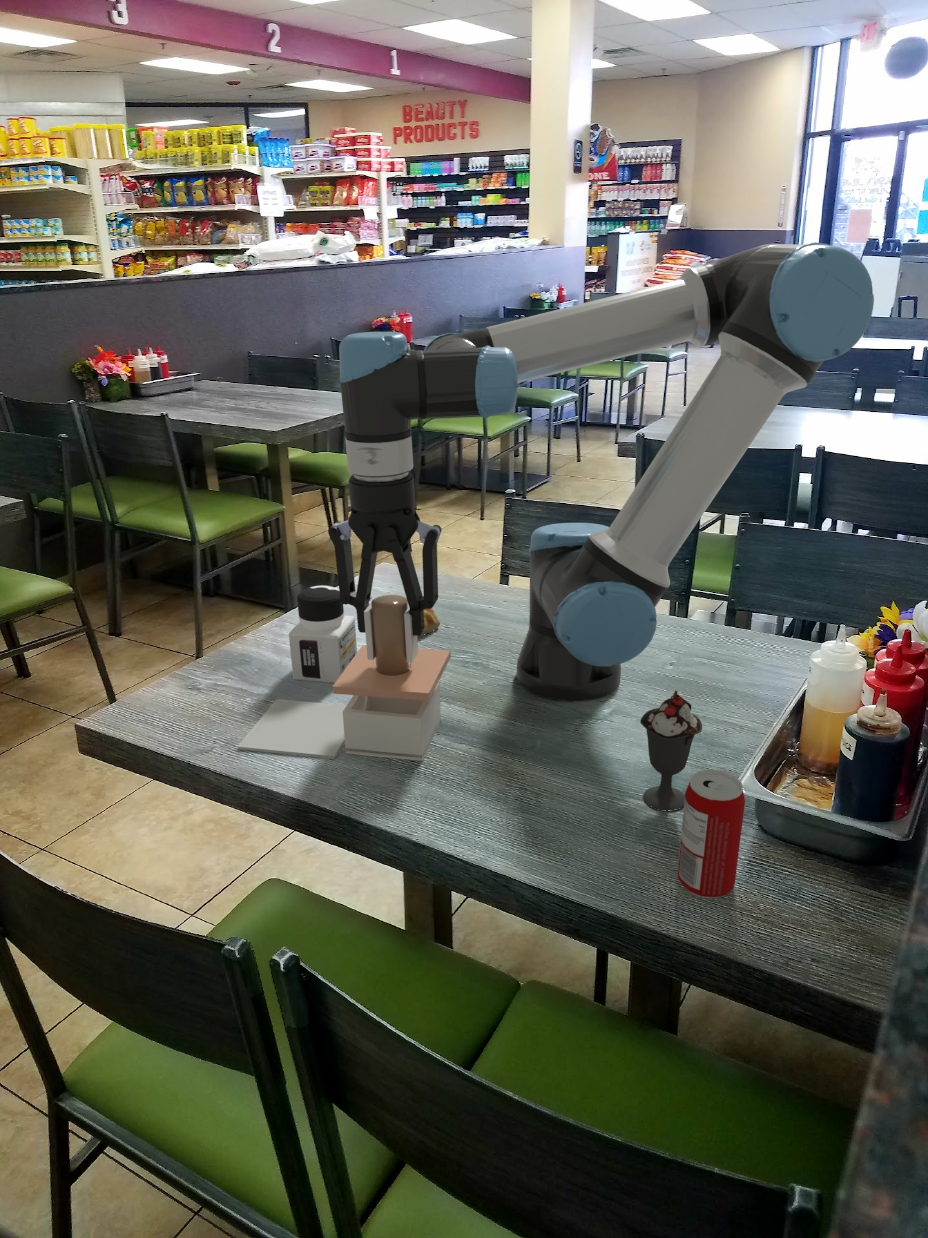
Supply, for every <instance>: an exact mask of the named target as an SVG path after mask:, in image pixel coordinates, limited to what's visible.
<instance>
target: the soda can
mask: <svg viewBox="0 0 928 1238" xmlns="http://www.w3.org/2000/svg"><path fill="white" fill-rule="evenodd" d="M684 795H685V800H684V807H683V811H682V813H683V814H682V823H681V833H680V843H679V854H678V866H677V880H678V881H679V883H680V885H682V887H684V889H686V891H688V893H689V894H691V895H694V896H695V895H696V897H698V898H700V897H701V898H702V899H710V900H712V898H713V899H718V898H722V897H725V896H727V895H728V894H730V893H731V892H732V891H733V890H734V889H735V886H736V885H735V884H736V878H737V877H736V876H737V869H738V861H739V855H740V854H739V853H740V846H741V845H740V844H741V835H742V829H743V821H744V814H745V813H744V812H745V803H746V798H745V794H744V786H743V782H742V781H741V780H739V778H738V777H737V776H736V775H733V774H731V773H729V772H726V771H724V770H719V769H703V770H699V771H697V772H694V773H693V774H692V775H691V776H690V779H689V783H688V785H687V787H686V789H685V792H684Z"/></svg>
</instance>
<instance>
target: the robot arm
mask: <svg viewBox="0 0 928 1238" xmlns="http://www.w3.org/2000/svg"><path fill="white" fill-rule="evenodd" d="M873 290H874V289H873V281H872V278H871V275H870V273H869V271H868V269H867V267H866V266H865V264H864V263H863V262H862V261H861V260H860V258H859V257H857V256H856V255H855V254H854V253H852V252H851V251H849V250H847V249H845V248H843V247H840V246H839V247H838V246H835V245H832V244H828V243H824V242H810V243H806V244H792V243H790V244H789V243H767V244H763V245H759V246H756V247H755V246H754V247H752V248H749V249H746V250H743V251H741V252H737V253H734V254H732V255H728V256H726V257H722V258H719V259H716V260H714V261H713V260H712V261H709V262H706V263H704V264H701V265H697V266H692V267H689V268H686V269H685V270H683V272H682V273H681V276H679V278H678V279H675V280H672V281H668V282H665V283H660V284H656V285H655V284H654V285H652V286H648V287H643V288H639V289H636V290H632V291H628V292H623V293H619V294H616V295H612V296H607V297H603V298H600V299H594V300H591V301H587V302H583V303H580V304H575V305H571V306H567V307H563V308H559V309H555V310H552V311H547V312H543V313H539V314H536V315H531V316H528V317H527V316H526V317H521V318H518V319H516V320H510V321H506V322H502V323H499V324H495V325H494V324H493V325H490V326H486V327H484V328H479V329H474V330H470V331H466V332H462V333H452V332H449V333H448V332H447V333H444V334H440V335H438V336H436V337H434V338H433V339H431V340H430V341H429V342H428V343H427V345H426V346H425V347H424V350H421V349H419V350H416V349H410V347H409V345H408V341H407V340H408V339H407V337H406V336H405V334H403V333H402V332H399V331H398V332H397V331H369V332H368V331H366V332H365V331H364V332H358V333H357V332H356V333H351V334H348V335H346V336H344V337H343V338H342V340H341V341H340V343H339V346H338V347H339V348H338V350H339V351H338V353H339V354H338V355H339V356H338V357H339V381H340V383H339V385H340V394H341V403H342V404H341V405H342V414H343V424H344V436H345V437H344V440H345V451H346V460H347V461H346V462H347V463H346V464H347V471H348V472H349V473H350V474H351V475H350V477H349V479H348V489H349V501H350V509H351V511H350V514H349V517H348V519H347V520H345V521H336V522H334V524H333V525H332V526H330V527H329V528H328V531H327V533H328V536H329V538H330V540H331V542H332V544H333V547H334V554H335V564H336V571H337V583H338V584H337V585H338V589H339V593H340V601H341V603H343V605H350V606H352V607H354V609H355V610H356V620H357V630H358V631H359V633H364V634H365V645H367V658H368V660H374V658H375V645H374V632H373V618H372V605H371V602H370V601H372V598H373V597H372V589H373V583H374V575H375V569H376V563H377V558H378V553H380V552H386V553H391V554H392V557H393V560H394V562H396V567H397V569H398V573H399V577H400V580H401V584H402V587H403V590H404V594H405V598H406V599H407V602H408V609H407V610H406V611H405V613H404V622H405V639H406V656H407V662H412V663H413V661H414V660H415V658H416V656H417V654H418V649H419V644H418V642H419V641H418V638H417V636H421V634H422V632H423V630H424V609H431V608H432V609H433V607H434V606H435V604H436V603H437V601H438V600H439V573H438V572H439V571H438V568H439V567H438V542H439V539H440V536H441V533H442V531H443V530H442V529H443V528H442V526H440V525H439V524H434V525H431V524H427V523H425V522H423V521H421V518H420V516H419V514H418V512H417V510H416V495H415V493H416V492H415V478H414V474H412V472H411V470H413V468H414V456H413V455H414V454H413V440H412V438H413V437H412V420H413V421H414V420H421V421H422V420H430V419H432V420H433V419H458V418H460V419H461V418H463V419H465V418H483V419H487V418H489V417H493V416H496V417H497V416H503V415H504V416H505V415H509V414H511V413H512V412H513V411H514V409H515V407H516V405H517V400H518V384H519V383H520V384H521V383H524V382H528V381H533V380H536V379H540V378H545V377H547V376H548V377H549V376H552V375H557V374H561V373H564V372H569V371H573V370H577V369H581V368H585V367H588V366H593V365H596V364H601V363H605V362H610V361H614V360H617V359H621V358H626V357H629V356H634V355H637V354H641V353H647V352H649V351H654V350H658V349H662V348H666V347H667V348H668V347H670V346H674V345H679V344H682V343H686V342H689V343H691V344H692V345H694V346H696V347H699V348H701V347H705V346H708V345H713V344H719V347H720V356H719V358H718V359H717V360H716V362H715V364H714V365H713V367H712V369H710V372H709V373H708V374H707V376H706V378H705V379H704V381H703V382H702V383H701V386H700V387H699V388H698V391H696V393H695V394H694V396H693V398H692V399H691V401H690V402H689V404H688V405H687V407H686V409H685V410H684V412H683V413H682V415H681V416H680V418H679V419H678V420H677V423H676V424H675V426H674V427H673V429H671V432H670V433H669V434H668V437H666V439H665V441H664V443H663V444H662V446H661V448H660V449H659V450H658V452H657V453H656V455H655V457H654V458H653V460H652V461H651V462H650V464H649V466H648V467H647V469H646V470H645V472H644V474H643V475H642V477H641V478H640V480H639V481H638V483H637V484H636V486H635V487H634V489H633V491H632V492H631V494H630V495H629V497H628V498H627V500H626V501H625V503H624V505H623V506H622V508H621V509H620V510H619V512H618V514H617V515H616V516H615V519H614V520H613V521H612V523H611V524H610V526H608V525H605V524H599V523H589V522H562V523H552V524H546V525H543V526H540V527H538V528H536V529H535V530H534V531H533V532H532V533H531V536H530V546H529V548H528V553H529V618H528V619H529V621H528V622H529V626H528V630H527V633H526V636H525V639H524V640H523V644H522V646H521V649H520V651H519V652H520V653H519V655H518V657H517V660H516V661H517V662H516V679H517V682H518V683H519V684H520V686H521V687H522V688H524V689H525V690H526V691H528V692H530V693H532V694H534V695H535V696H536V695H537V696H539V697H541V698H546V699H549V700H550V699H551V700H557V701H564V702H565V701H567V702H568V701H570V702H572V701H573V702H577V701H578V702H579V701H580V702H581V701H588V700H594V699H597V698H601V697H604V696H606V695H608V694H610V693H612V692H614V691H615V690H616V689H617V688H618V687H619V686H620V683H621V674H622V673H621V672H622V665H621V664H625V663H626V662H627V663H628V662H629V661H631V660H633V659H635V658H636V657H637V656H639V655H640V654H641V653H643V652H644V650H646V649H647V647H648V646H649V645H650V643H651V642H652V640H653V638H654V636H655V633H656V630H657V622H658V621H657V618H658V617H657V611H656V610H657V609H656V607H657V605H658V604H659V602H660V601H661V599H662V597H663V596H664V595H665V593H666V592H667V590H668V589H669V587H670V585H671V581H670V573H669V570H668V569H669V566H670V564H671V562H672V561H673V560H674V557H675V556H676V555H677V553H678V552H679V551H680V549H681V547H682V546H683V544H684V543H685V541H686V539H688V537H689V535H690V533H691V532H692V531H693V530H694V528H695V527H696V525H697V524H698V522H699V521H700V520H701V518H702V516H703V515H704V513H705V512H706V510H707V509H708V507H709V506H710V505H711V503H712V501H713V500H714V499H715V497H716V495H717V494H718V493H719V491H720V490H721V489H722V486H723V485H724V484H725V482H726V481H727V480H728V478H729V477H730V475H731V474H732V472H733V471H734V469H735V468H736V466H737V465H738V463H739V462H740V460H741V459H742V458H743V456H744V455H745V453H746V451H747V450H748V448H749V447H750V445H751V444H752V442H754V440H755V439H756V437H757V435H758V434H759V433H760V431H761V429H762V428H763V426H764V425H765V424H766V422H767V420H768V419H769V418H770V416H771V415H772V413H773V412H774V411H775V409H776V407H777V406H778V404H779V403H780V402H781V400H782V399H783V397H784V396H785V395H786V394H787V393H790V392H793V391H797V390H800V389H801V390H802V389H804V388H807V386H808V384H809V383H810V381H811V380H812V378H813V377H814V376H815V374H816V373H817V371H818V370H819V368H820V367H821V366H822V364H823V363H824V362H825V361H830V360H833V359H835V358H837V357H840V356H843V355H844V354H845V353H847V352H849V351H850V350H851V349H852V348H853V347H854V346H856V344H857V343H858V342H859V341H860V340H861V338H863V336H864V334H865V332H866V330H867V328H868V326H869V324H870V322H871V319H872V315H873V311H874V303H875V295H874V293H873ZM352 532H353V533H354V535H355V536H356V537H357V538H358V539H359V541H360V542H361V543H362V548H361V553H360V559H361V561H360V566H359V567H360V568H359V574H358V581H357V586H356V582H355V573H354V571H355V570H354V562H353V553H352V552H353V551H352V544H351V537H352ZM416 532H417V534H418V535H419V542H421V543H422V544H423V546H422V549H421V550H422V551H421V553H422V584H423V585H422V586H423V587H422V589H423V592H422V589H421V585H420V581H419V578H418V574H417V571H416V568H415V567H416V566H415V564H414V560H413V556H412V548H411V543H410V540H411V539H412V537H413V536H414V535H415V533H416ZM421 637H422V636H421Z"/></svg>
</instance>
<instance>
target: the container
mask: <svg viewBox="0 0 928 1238" xmlns="http://www.w3.org/2000/svg"><path fill="white" fill-rule="evenodd" d="M296 599H297V600H296V602H297V611H298V613H297V614H298V620H299V621H298V622H297V624H295V626H294V627H293V628H292V629H291V630H290V631H289V633H288V640H289V641H288V643H289V648H290V649H289V651H290V659H291V669H292V671H291V672H292V678H293V680H295V681H305V682H306V681H307V682H318V683H330V684H335V682H336V681H337V680H338V678H339V677H340V676H341V674H342V673H343V671H344V670H345V669H346V667H347V666H348V665H349V663H350V662H351V660H352V659H353V658H354V656H355V655H356V653H357V652H358V645H357V631H356V618H355V616H353V615H345V613H344V612H345V611H344V604H343V603H341V601H340V593H339V588H337V587H334V586H330V585H315V586H310V587H307V588H305V589H303V590H302V591H300V592H299V593H298V595H297V596H296Z"/></svg>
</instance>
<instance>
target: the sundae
mask: <svg viewBox="0 0 928 1238" xmlns="http://www.w3.org/2000/svg"><path fill="white" fill-rule="evenodd" d="M639 722H640V724H641V725H642V726H643V728H645V729H646V736H647V746H648V747H647V749H648V750H647V751H648V757H649V763H650V764H651V767H652V768H653V769H654V770H655V771H657V773H659V774H660V775H661V777H660V784H659V785H656V786H652V787H649V788H648V789H646V790H645V791H644V792H643V794H642V799H643V801H644V803H645V804H647V806H649V807H650V806H652V807H651V808H652V809H654V808H656V809H655V810H657V809H659V810H658V811H660V810H666V811H665V812H669V811H668V810H674V809H679V808H681V809H683V808H684V807H683V806H684V800H685V793H683V792H682V791H681V790H679V789H677V788H674V787H673V786H672V782H673V781H672V780H673V776H674V775H677V774H679V773H680V772H682V771H683V770H684V769H685V768H686V765H687V762H688V760H689V757H690V752H691V748H692V743H693V740H694V738H695V735H698V734H700V733H701V732H702V731H703V723H702V721H701V719H700V718H699V717H698V716H697V715H695V714H694V713H692V703H690V702H688V701H687V700H686V699H685V698H684V697H682V696H681V695H679V694H678V691H677V690H674V692H673V693H672V695H671V697H670V698H667V699H665V700H664V701H662V703H661V704H660V706H659V707H658V708H652V709H650V710H648V711H646V712H645V713H644V714H643V715H642V717H641V718H640V721H639ZM682 807H683V808H682ZM679 810H680V809H679Z"/></svg>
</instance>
